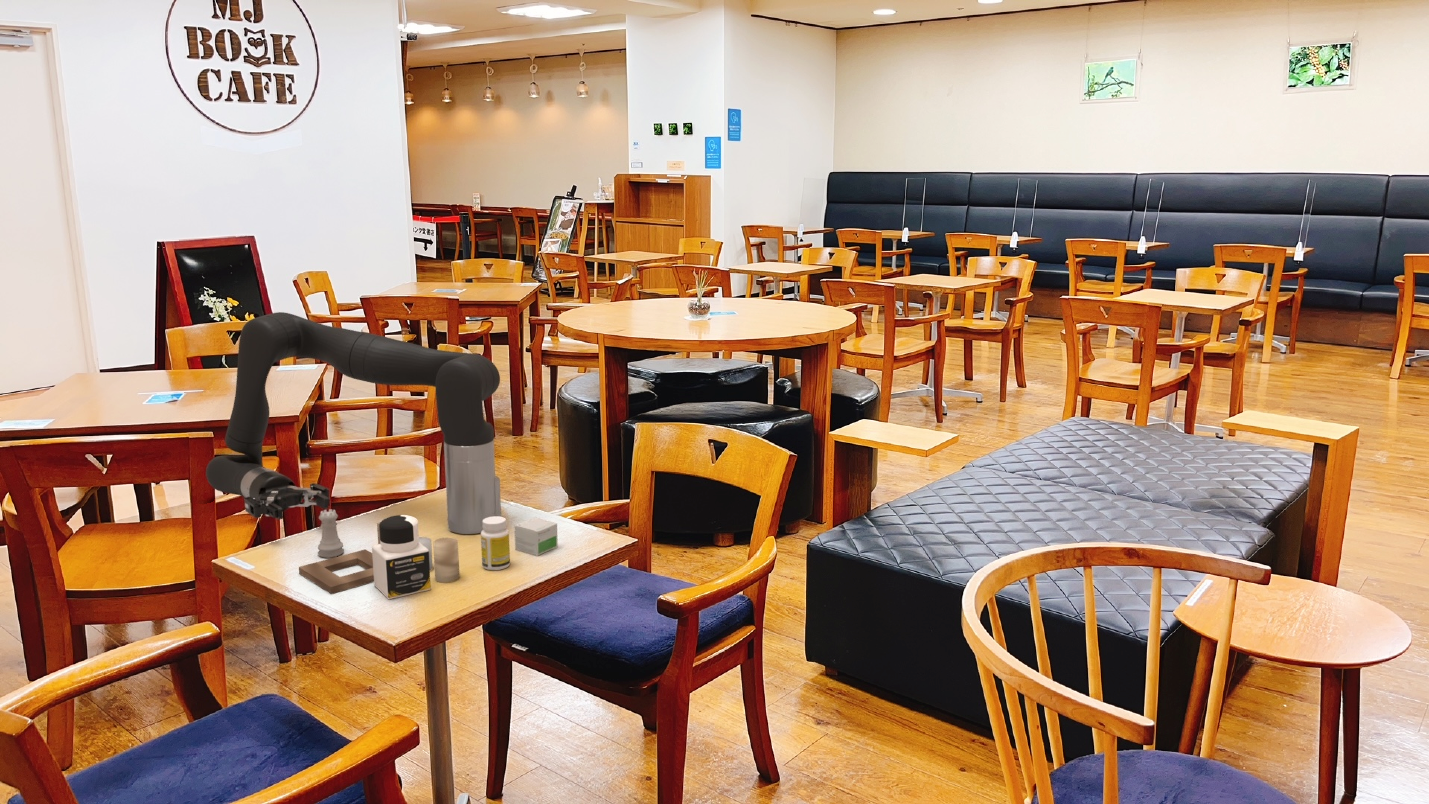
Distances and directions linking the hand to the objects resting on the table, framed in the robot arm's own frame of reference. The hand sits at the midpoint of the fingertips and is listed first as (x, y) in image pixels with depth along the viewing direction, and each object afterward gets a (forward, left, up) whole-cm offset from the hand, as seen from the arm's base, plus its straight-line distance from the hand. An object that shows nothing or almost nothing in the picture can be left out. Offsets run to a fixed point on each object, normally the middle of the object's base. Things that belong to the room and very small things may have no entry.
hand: (304, 508), depth 188 cm
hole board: (+2, +21, -6) cm, 22 cm away
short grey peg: (-8, +27, -6) cm, 29 cm away
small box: (-28, +33, -6) cm, 44 cm away
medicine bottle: (-1, +33, -6) cm, 33 cm away
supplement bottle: (-18, +35, -6) cm, 40 cm away
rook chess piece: (0, +10, -6) cm, 12 cm away
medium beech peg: (-9, +34, -6) cm, 36 cm away
